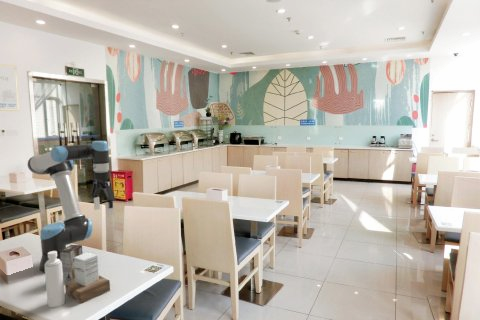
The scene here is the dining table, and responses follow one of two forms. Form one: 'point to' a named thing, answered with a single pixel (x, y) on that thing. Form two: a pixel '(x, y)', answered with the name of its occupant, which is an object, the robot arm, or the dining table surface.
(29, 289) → the dining table surface
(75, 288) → the walnut block
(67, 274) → the coffee box
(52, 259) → the white bottle
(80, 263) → the supplement box
